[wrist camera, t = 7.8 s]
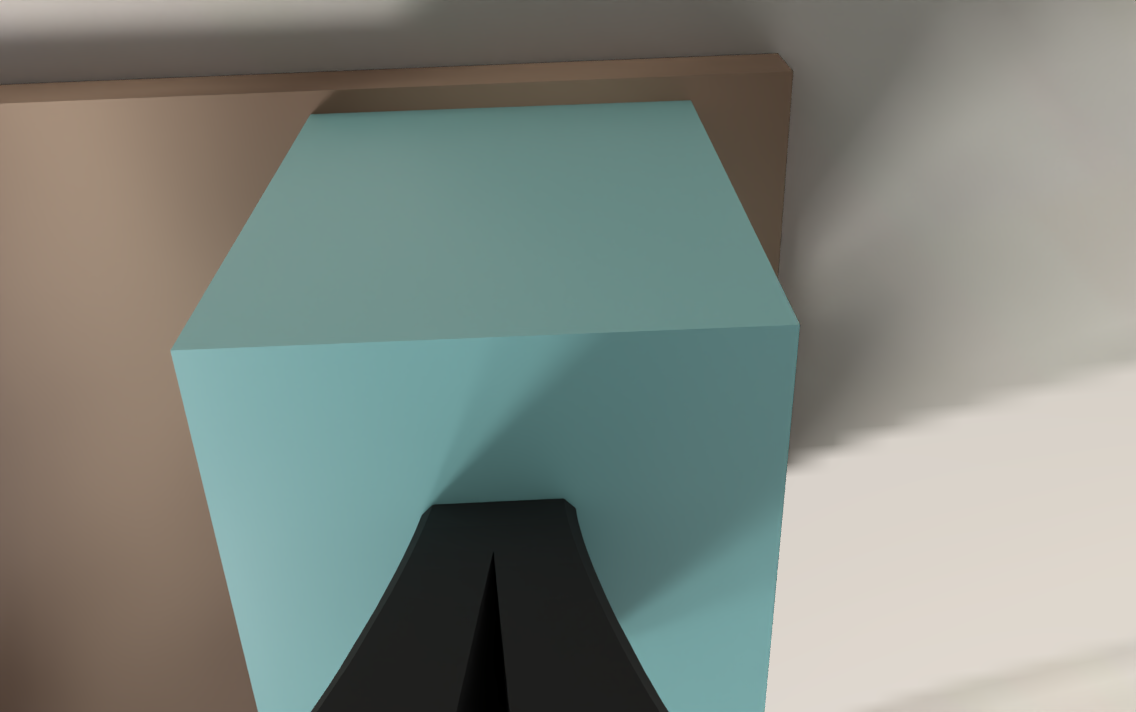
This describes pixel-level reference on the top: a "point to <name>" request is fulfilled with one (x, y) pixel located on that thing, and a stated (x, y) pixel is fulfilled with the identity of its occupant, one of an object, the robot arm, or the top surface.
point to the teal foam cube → (498, 379)
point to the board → (160, 312)
